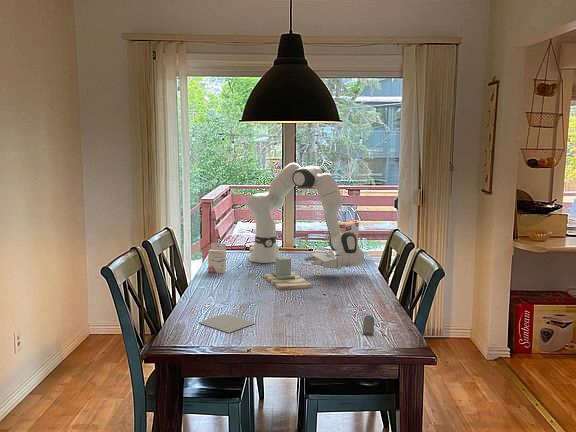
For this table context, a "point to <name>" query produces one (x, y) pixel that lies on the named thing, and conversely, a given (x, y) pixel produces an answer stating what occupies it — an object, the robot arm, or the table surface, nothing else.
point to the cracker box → (350, 228)
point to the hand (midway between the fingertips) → (308, 261)
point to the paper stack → (226, 323)
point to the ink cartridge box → (217, 258)
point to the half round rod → (368, 325)
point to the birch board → (287, 282)
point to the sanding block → (283, 268)
